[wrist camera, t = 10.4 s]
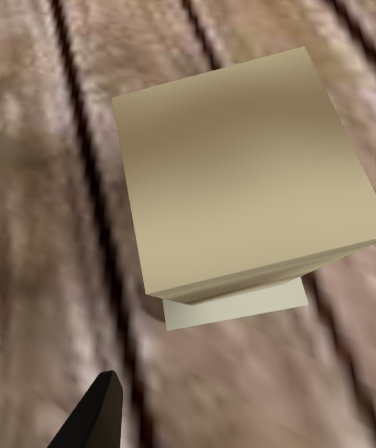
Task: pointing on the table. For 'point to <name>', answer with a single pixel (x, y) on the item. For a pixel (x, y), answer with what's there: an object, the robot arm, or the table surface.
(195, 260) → the beige rectangular block
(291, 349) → the table surface
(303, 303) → the top slab
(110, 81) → the table surface
